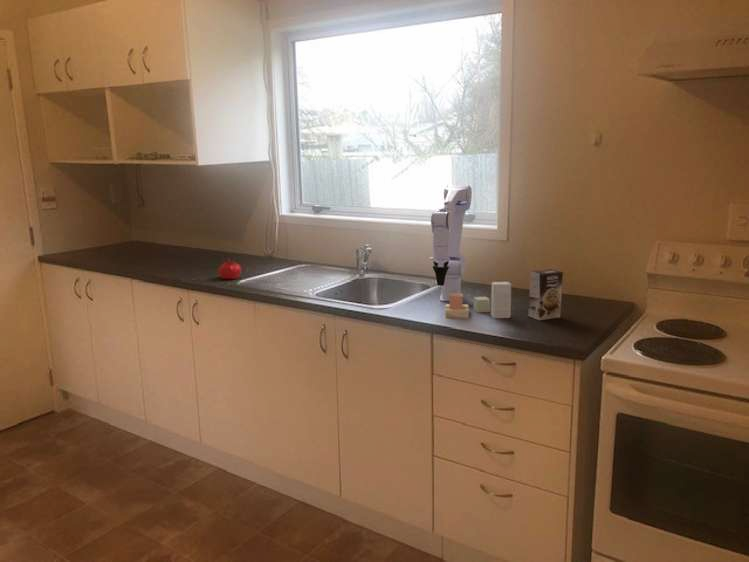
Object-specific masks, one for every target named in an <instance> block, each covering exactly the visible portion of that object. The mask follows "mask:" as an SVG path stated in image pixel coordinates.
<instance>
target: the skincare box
mask: <svg viewBox="0 0 749 562" xmlns="http://www.w3.org/2000/svg"><path fill="white" fill-rule="evenodd" d="M490 291H491V293H490V294H491V297H490V298H491V299H490V314H491V317H492V318H493V319H510V318H511V315H512V314H511V311H512V307H511V305H512V283H510V282H509V281H492V282H491V290H490Z"/></svg>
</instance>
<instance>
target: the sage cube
mask: <svg viewBox="0 0 749 562" xmlns="http://www.w3.org/2000/svg"><path fill="white" fill-rule="evenodd" d="M473 310H474V311H475V312H477V313H487V312H488V313H491V299H490V298H489V297H487V296H475V297H473Z"/></svg>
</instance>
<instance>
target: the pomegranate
mask: <svg viewBox="0 0 749 562" xmlns="http://www.w3.org/2000/svg"><path fill="white" fill-rule="evenodd" d="M218 274H219V278H221V280H236V279H239V277H240V276H241V274H242V266H241V264H239V263H237V262H236V261H235V260H233V261H230V258H229V257H227V261H223V264H221V265H220V266H219V268H218Z"/></svg>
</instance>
